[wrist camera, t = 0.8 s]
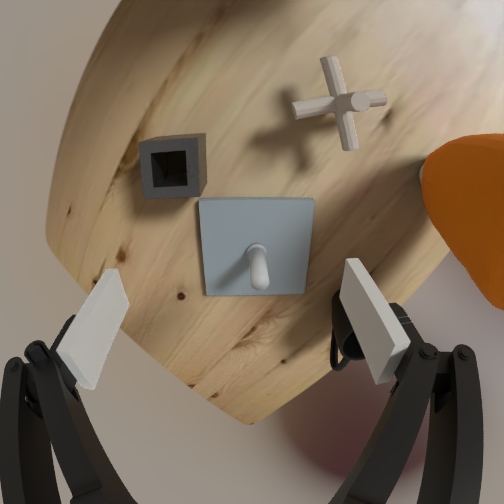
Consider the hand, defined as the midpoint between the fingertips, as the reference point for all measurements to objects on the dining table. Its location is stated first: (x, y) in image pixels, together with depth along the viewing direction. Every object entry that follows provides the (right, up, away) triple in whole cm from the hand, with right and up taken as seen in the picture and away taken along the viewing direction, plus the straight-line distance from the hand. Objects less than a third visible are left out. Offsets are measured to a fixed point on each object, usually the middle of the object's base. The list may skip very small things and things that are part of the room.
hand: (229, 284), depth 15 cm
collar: (-7, +13, +15) cm, 21 cm away
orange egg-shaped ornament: (+27, +13, +17) cm, 34 cm away
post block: (+2, +2, +21) cm, 22 cm away
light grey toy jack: (+10, +19, +13) cm, 25 cm away
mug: (+16, -7, +27) cm, 32 cm away
